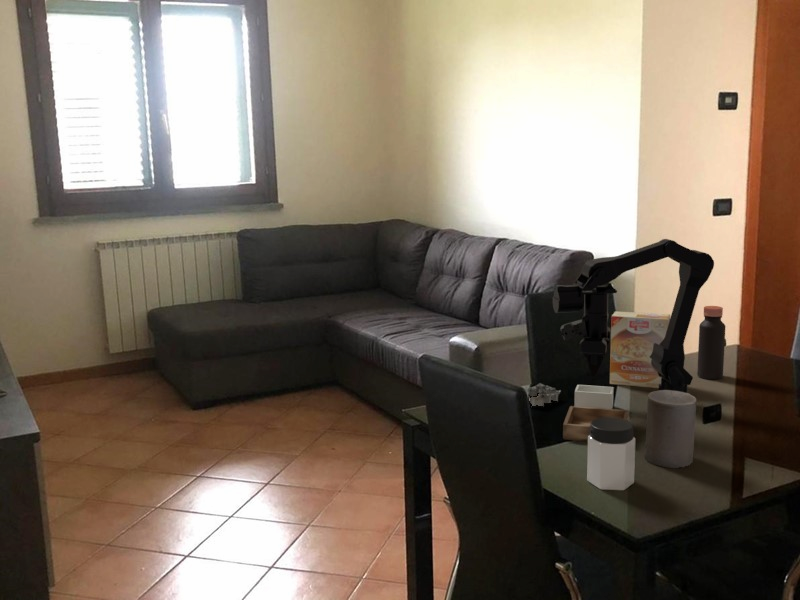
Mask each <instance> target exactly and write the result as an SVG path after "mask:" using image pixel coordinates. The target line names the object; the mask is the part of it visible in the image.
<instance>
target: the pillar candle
mask: <svg viewBox="0 0 800 600" xmlns="http://www.w3.org/2000/svg"><path fill="white" fill-rule="evenodd" d="M646 404H647V407H646V431H645V454H644V459H645V461H647V462H648V463H651V464H653V465H655V466H659V467H663V468H671V469H679V467H682V468H686V467H685V466H687V467H689V466H691V465H692V464H693V461H694V448H695V447H694V444H695V433H696V432H695V430H696V429H695V428H696V427H695V426H696V413H697V412H696V410H697V398H696V397H695V396H694V395H692V394H690V393H688V392H687V393H684V392H679V391H672V390H659V391H658V390H655V391H651V392H649V393H648V395H647V403H646ZM691 463H692V464H691ZM690 464H691V465H690ZM688 465H689V466H688Z"/></svg>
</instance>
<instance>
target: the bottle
mask: <svg viewBox="0 0 800 600" xmlns="http://www.w3.org/2000/svg"><path fill="white" fill-rule="evenodd" d="M723 309H724V308H723V307H722V306H717V305H705V306H704V307H703V317H704V319H703V320H702V322H700V323H699V326H698V327H699V328H698V329H699V331H698V347H697V348H698V351H697V352H698V354H697V373H696V375H697V376H698V377H699V378H701V379H704V380H710V381H711V380H712V381H713V380H721V379H723V377H724V366H725V365H724V363H725V362H724V361H725V346H726V345H725V342H726V325H725V323H724V322H723V321H722V318H723V313H724V310H723Z"/></svg>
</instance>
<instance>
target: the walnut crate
mask: <svg viewBox="0 0 800 600" xmlns="http://www.w3.org/2000/svg"><path fill="white" fill-rule="evenodd" d="M629 411H630V410H628V409H616V408H615V409H614V408H613V409H604V408H590V407H577V406H574V405H570V406H569V408H568V411H567V413H566V416H565V418H564V421H563V424H562V440H566V441H567V440H568V441H577V442H579V441H580V442H588V436H589V435H590V423H591V422H592V421H593V420H595V419H598V418H605V417H611V418H620V419H624V420H627V421H629Z"/></svg>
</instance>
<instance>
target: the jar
mask: <svg viewBox="0 0 800 600" xmlns="http://www.w3.org/2000/svg"><path fill="white" fill-rule="evenodd" d="M634 427H635V426H634V424H633V422H631V421H629V420H628V421H627V420H624V419H620V418H611V417H605V418H598V419H595V420H593V421H592V422H591V423H590V435H589V436H588V441H587V461H586V462H587V463H586V464H587V468H586V470H587V471H586V475H587V476H586V480H587V482H589V483H590V484H592V485H593V486H595V487H596V488H598V489H599V490H602V491H603V490H604V491H608V490H609V491H625V490H626V489H628V488H629V487H630V486H632V485H633V484H634V483H635V462H636V458H635V457H636V438H635V436H634Z"/></svg>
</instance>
